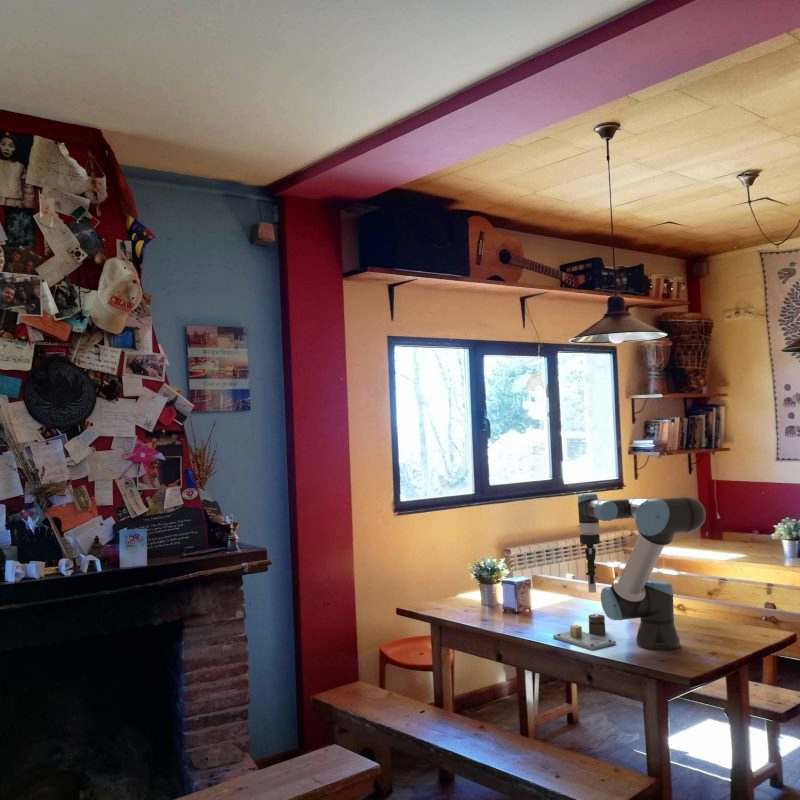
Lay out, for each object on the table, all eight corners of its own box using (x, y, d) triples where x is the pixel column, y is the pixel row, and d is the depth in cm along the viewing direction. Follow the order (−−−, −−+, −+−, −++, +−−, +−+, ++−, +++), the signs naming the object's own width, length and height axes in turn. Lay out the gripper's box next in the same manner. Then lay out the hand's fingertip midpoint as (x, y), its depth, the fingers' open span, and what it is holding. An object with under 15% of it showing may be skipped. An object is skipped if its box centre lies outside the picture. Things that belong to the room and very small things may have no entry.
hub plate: (615, 644, 288) (615, 631, 288) (591, 650, 282) (591, 637, 282) (576, 632, 305) (576, 620, 305) (552, 638, 299) (552, 625, 299)
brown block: (605, 631, 306) (604, 613, 307) (605, 635, 301) (604, 616, 301) (589, 630, 308) (588, 612, 308) (589, 634, 302) (588, 616, 302)
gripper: (579, 529, 319) (582, 583, 318) (579, 537, 295) (582, 595, 294) (598, 529, 318) (601, 583, 316) (600, 537, 293) (603, 595, 292)
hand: (592, 589), depth 305 cm, fingers open, 13 cm apart
